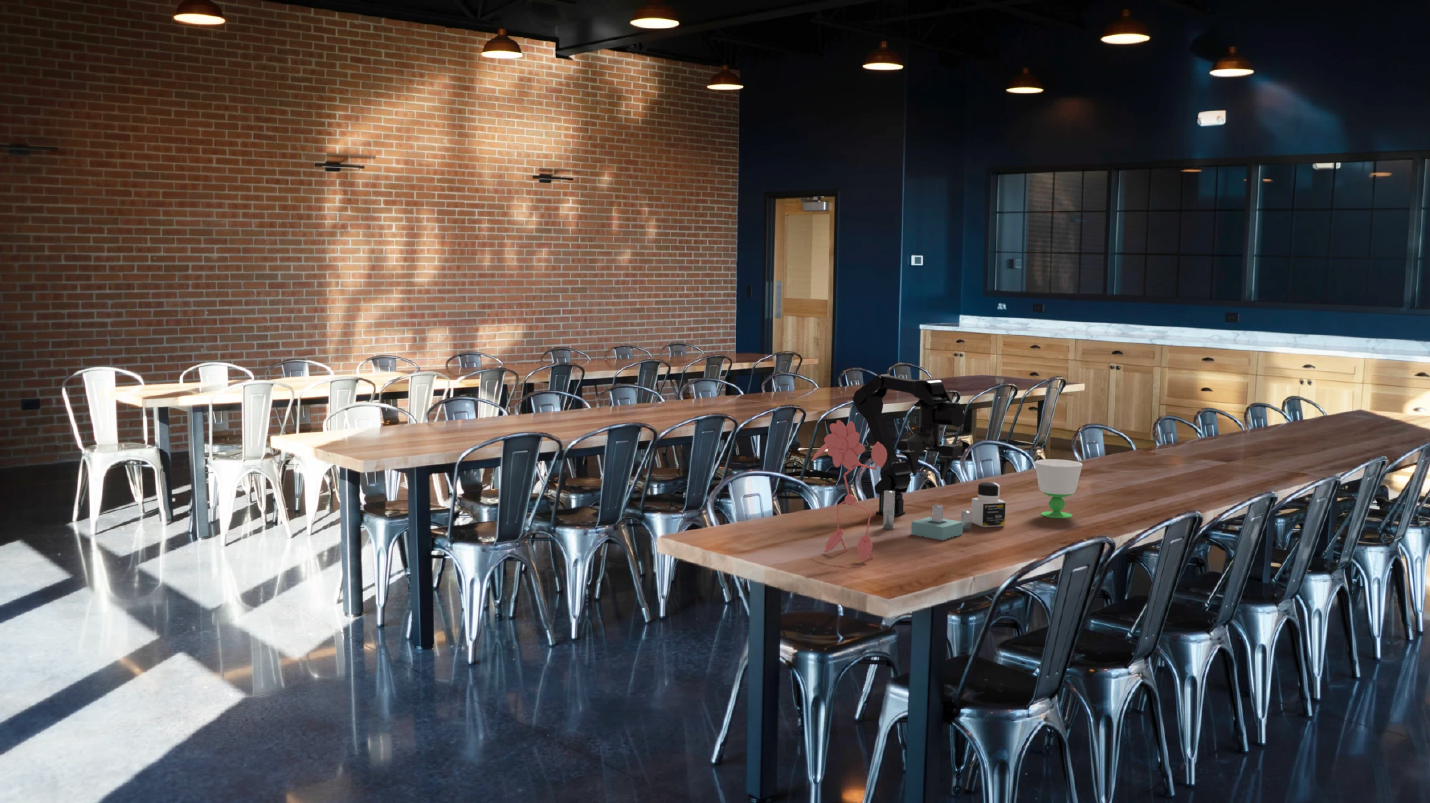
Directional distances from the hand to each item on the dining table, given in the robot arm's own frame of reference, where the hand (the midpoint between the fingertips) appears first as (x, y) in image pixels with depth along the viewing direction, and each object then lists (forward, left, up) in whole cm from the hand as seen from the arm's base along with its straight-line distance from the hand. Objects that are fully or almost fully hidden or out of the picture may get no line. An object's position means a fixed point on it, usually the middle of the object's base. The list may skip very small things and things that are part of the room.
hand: (928, 477), depth 332 cm
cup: (+22, +36, -13) cm, 44 cm away
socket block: (+11, -12, -13) cm, 21 cm away
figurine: (+9, -53, -13) cm, 55 cm away
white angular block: (+14, +10, -13) cm, 22 cm away
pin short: (+13, 0, -13) cm, 18 cm away
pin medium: (+11, -12, -13) cm, 21 cm away
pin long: (-3, -15, -13) cm, 20 cm away
